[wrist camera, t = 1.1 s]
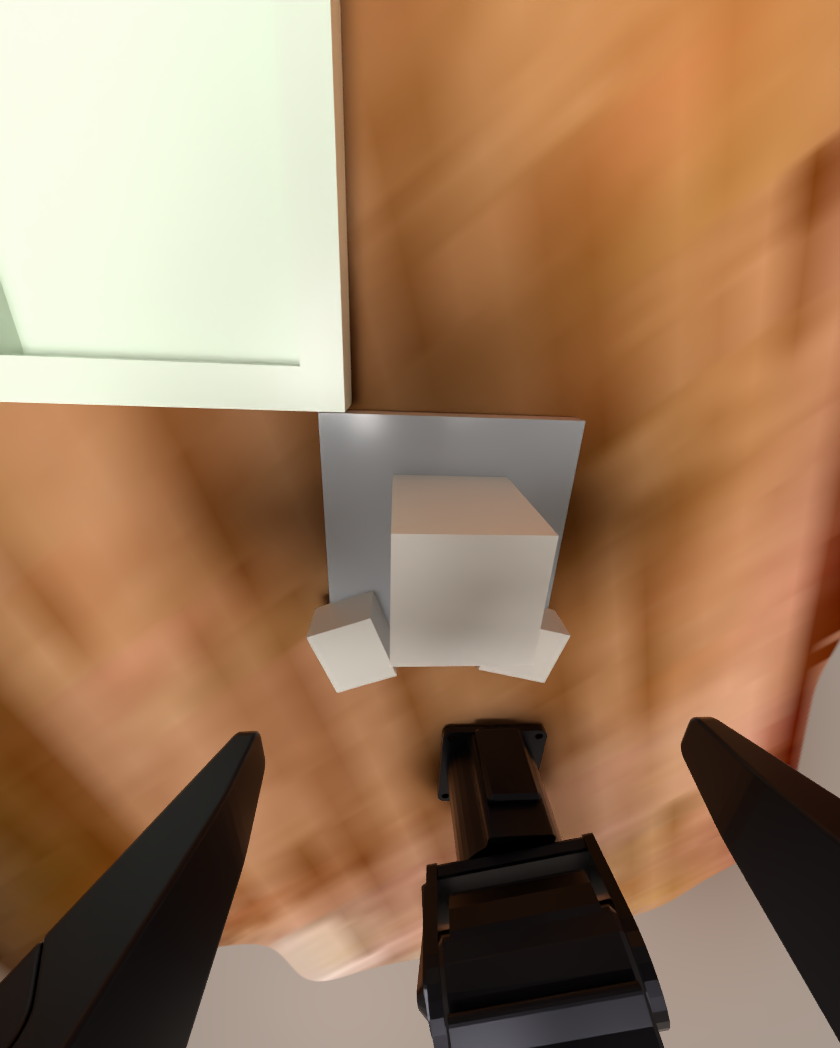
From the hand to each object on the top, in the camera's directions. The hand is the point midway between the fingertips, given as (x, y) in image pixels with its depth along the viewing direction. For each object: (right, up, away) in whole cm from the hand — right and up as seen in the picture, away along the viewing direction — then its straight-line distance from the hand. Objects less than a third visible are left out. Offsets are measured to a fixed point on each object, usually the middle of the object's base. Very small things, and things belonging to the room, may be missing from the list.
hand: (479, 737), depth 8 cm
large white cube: (0, +4, +10) cm, 11 cm away
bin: (-11, +16, +5) cm, 20 cm away
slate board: (0, +4, +11) cm, 12 cm away
